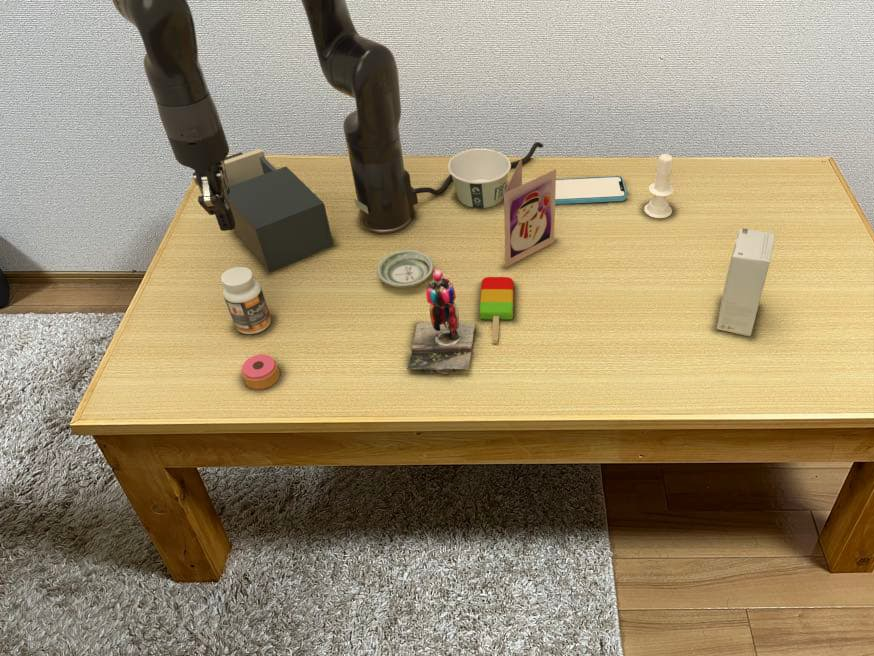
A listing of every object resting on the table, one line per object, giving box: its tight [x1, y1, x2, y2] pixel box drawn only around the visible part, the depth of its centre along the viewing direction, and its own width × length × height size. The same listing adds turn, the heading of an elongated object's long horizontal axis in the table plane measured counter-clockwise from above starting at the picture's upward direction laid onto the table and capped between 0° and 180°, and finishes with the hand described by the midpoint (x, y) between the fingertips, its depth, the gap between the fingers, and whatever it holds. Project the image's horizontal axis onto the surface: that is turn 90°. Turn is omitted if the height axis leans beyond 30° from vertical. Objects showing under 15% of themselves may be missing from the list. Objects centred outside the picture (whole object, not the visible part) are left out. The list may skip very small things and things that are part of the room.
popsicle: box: [478, 276, 515, 342], centre depth 127 cm, size 6×15×2 cm, turn 0°
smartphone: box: [555, 175, 627, 205], centre depth 151 cm, size 8×1×15 cm
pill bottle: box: [220, 266, 272, 335], centre depth 121 cm, size 6×6×10 cm
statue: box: [406, 268, 476, 375], centre depth 117 cm, size 11×9×15 cm
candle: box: [643, 153, 675, 219], centre depth 143 cm, size 5×5×12 cm
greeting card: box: [503, 157, 557, 268], centre depth 134 cm, size 11×7×15 cm, turn 131°
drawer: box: [224, 148, 277, 186], centre depth 144 cm, size 18×11×7 cm, turn 38°
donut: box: [241, 354, 281, 390], centre depth 116 cm, size 5×5×3 cm
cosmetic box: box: [716, 227, 776, 337], centre depth 122 cm, size 8×6×15 cm
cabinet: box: [228, 166, 335, 273], centre depth 137 cm, size 15×13×9 cm
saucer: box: [376, 249, 434, 289], centre depth 133 cm, size 10×10×2 cm
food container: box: [447, 148, 512, 209], centre depth 148 cm, size 12×12×6 cm
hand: (228, 227), depth 121 cm, fingers closed
